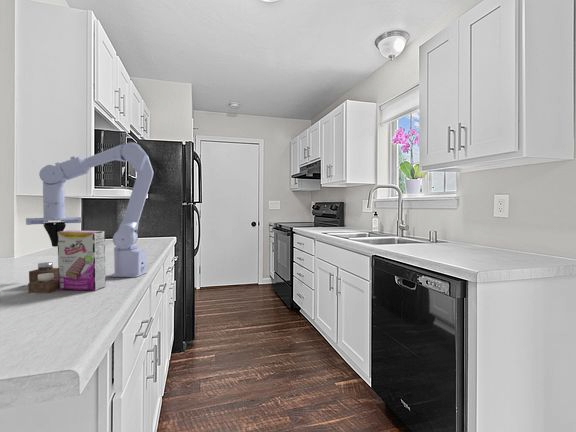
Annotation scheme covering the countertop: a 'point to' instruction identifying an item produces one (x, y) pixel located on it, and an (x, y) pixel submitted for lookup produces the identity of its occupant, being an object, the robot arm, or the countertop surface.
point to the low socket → (43, 286)
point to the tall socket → (34, 274)
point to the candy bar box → (81, 260)
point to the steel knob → (45, 265)
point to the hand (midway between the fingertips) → (55, 246)
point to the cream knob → (45, 277)
